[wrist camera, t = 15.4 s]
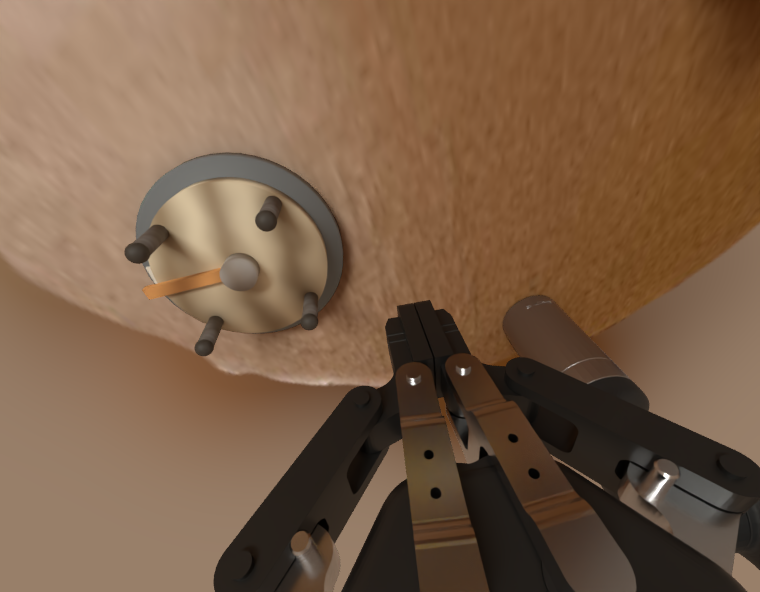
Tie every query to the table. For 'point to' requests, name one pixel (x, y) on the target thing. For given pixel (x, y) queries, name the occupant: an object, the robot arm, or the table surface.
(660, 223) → the table surface
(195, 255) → the capstan dial
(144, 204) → the dial base
